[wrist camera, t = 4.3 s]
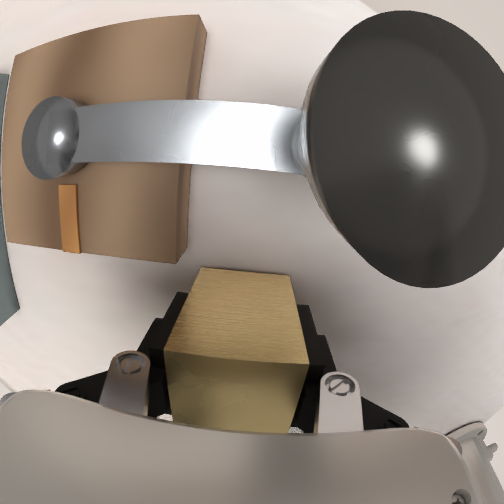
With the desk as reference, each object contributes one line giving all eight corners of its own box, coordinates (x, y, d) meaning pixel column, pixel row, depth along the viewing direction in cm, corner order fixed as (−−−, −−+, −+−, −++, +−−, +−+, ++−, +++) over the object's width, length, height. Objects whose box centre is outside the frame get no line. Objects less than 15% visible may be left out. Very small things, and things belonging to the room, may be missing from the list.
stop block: (289, 275, 13) (309, 363, 7) (277, 345, 14) (284, 440, 9) (201, 267, 13) (163, 349, 7) (200, 338, 14) (174, 430, 9)
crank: (38, 181, 10) (-91, 226, 3) (42, 100, 8) (-88, 97, 2) (364, 204, 10) (501, 291, 3) (376, 109, 9) (529, 78, 2)
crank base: (207, 32, 10) (198, 13, 8) (186, 247, 13) (174, 265, 11) (37, 61, 9) (13, 55, 7) (28, 231, 13) (5, 242, 11)
